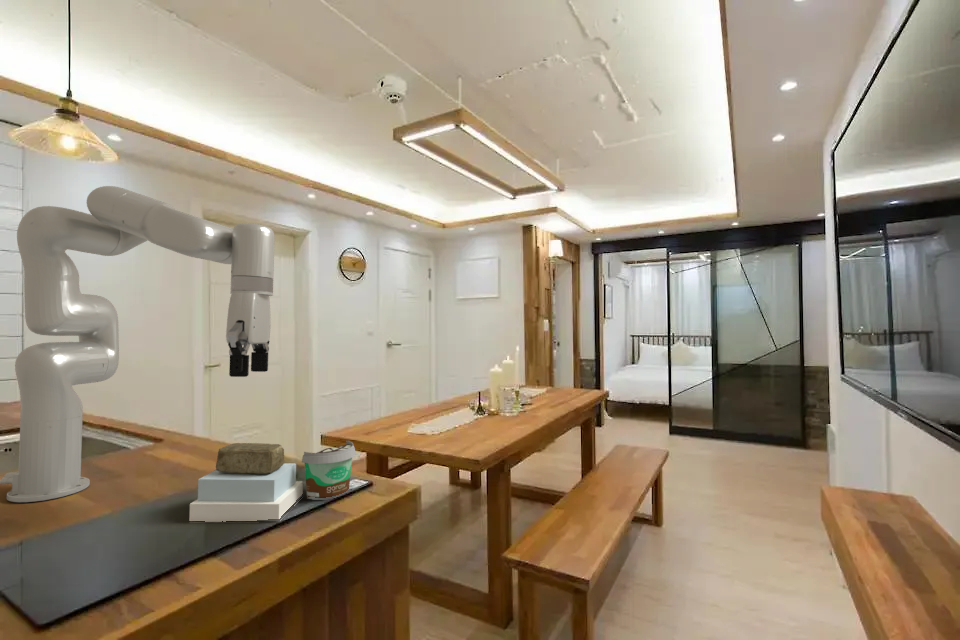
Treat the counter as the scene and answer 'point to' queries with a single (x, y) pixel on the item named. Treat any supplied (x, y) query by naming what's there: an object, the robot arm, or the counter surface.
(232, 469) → the stone block
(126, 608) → the counter surface
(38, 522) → the counter surface
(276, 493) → the tower top slab
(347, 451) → the food container
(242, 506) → the tower base slab
